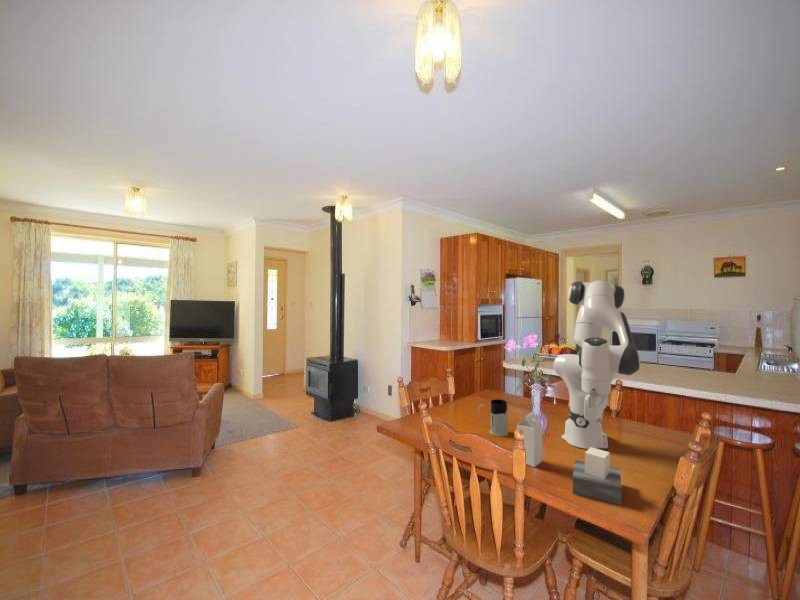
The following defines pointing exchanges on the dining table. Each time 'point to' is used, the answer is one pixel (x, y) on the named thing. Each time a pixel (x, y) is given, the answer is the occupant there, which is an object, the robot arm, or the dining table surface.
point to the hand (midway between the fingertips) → (596, 426)
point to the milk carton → (532, 439)
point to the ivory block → (597, 462)
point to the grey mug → (498, 418)
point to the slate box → (597, 484)
